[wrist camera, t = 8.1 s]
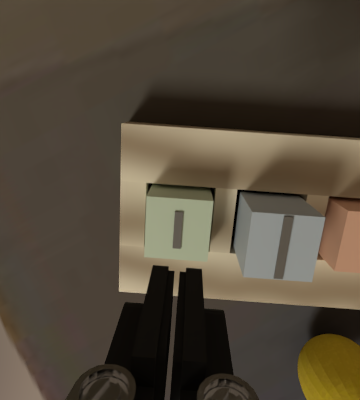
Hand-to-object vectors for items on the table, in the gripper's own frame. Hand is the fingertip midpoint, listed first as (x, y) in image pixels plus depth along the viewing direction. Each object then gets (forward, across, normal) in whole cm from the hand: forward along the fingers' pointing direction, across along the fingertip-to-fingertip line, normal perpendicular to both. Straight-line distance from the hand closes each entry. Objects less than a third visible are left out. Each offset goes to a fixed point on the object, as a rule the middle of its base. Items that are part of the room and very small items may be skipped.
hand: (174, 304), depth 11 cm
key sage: (+13, 0, +1) cm, 13 cm away
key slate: (+12, -6, +1) cm, 13 cm away
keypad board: (+13, -6, +1) cm, 15 cm away
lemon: (+13, -12, +12) cm, 22 cm away
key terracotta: (+13, -12, +1) cm, 18 cm away
